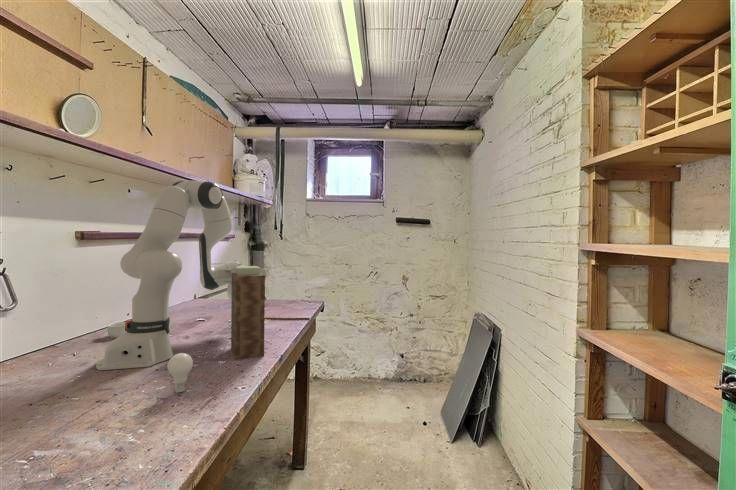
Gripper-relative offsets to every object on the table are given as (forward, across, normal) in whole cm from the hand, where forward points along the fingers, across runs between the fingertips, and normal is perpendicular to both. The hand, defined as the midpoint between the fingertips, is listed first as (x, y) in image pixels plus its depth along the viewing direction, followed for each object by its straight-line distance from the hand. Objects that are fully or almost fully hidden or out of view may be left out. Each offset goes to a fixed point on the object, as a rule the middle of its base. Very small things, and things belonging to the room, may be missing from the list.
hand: (243, 267), depth 143 cm
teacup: (-46, -47, +10) cm, 66 cm away
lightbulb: (+18, -22, +47) cm, 55 cm away
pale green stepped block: (+3, 0, +3) cm, 4 cm away
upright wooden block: (-6, 0, +33) cm, 33 cm away
